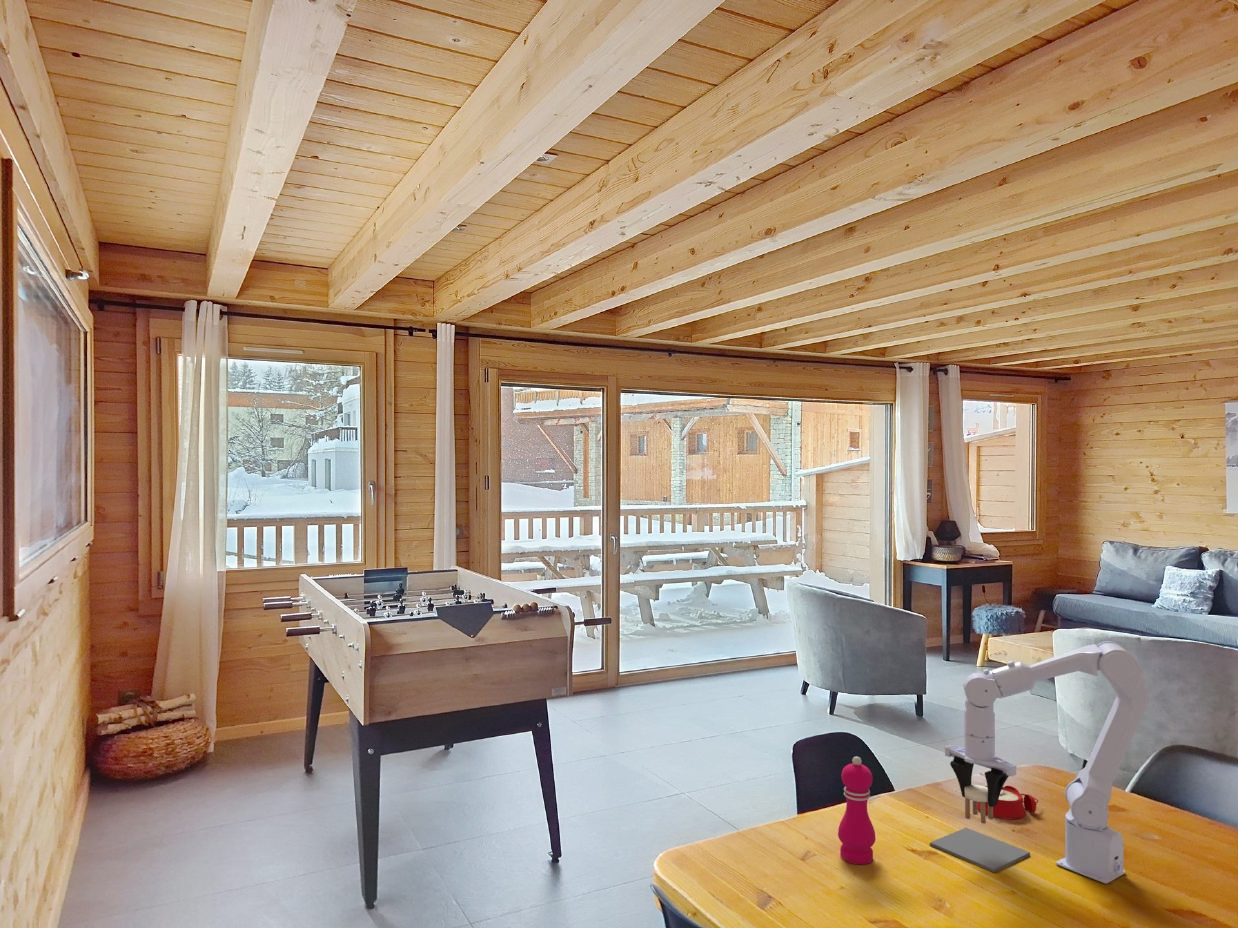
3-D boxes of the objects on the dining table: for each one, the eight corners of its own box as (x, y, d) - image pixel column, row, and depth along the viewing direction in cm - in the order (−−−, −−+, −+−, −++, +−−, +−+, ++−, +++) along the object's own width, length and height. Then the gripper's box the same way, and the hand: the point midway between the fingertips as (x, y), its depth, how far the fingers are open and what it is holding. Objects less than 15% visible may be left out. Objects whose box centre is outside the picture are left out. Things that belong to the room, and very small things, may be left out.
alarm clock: (961, 789, 190) (1012, 768, 194) (966, 815, 190) (1017, 794, 194) (994, 806, 180) (1047, 784, 184) (999, 833, 180) (1052, 811, 184)
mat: (1030, 855, 164) (1030, 852, 164) (994, 872, 157) (994, 869, 157) (966, 829, 176) (966, 827, 176) (929, 845, 168) (929, 842, 168)
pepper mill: (877, 867, 158) (877, 764, 159) (839, 863, 160) (839, 761, 160) (873, 850, 165) (873, 752, 166) (836, 847, 167) (837, 749, 167)
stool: (997, 818, 166) (996, 789, 166) (986, 825, 162) (985, 795, 162) (972, 811, 170) (971, 783, 170) (960, 817, 166) (959, 788, 166)
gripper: (936, 727, 170) (936, 793, 170) (1002, 747, 158) (1002, 817, 158) (955, 722, 174) (955, 786, 174) (1022, 740, 162) (1022, 809, 162)
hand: (979, 800), depth 166 cm, fingers closed on stool, 5 cm apart
